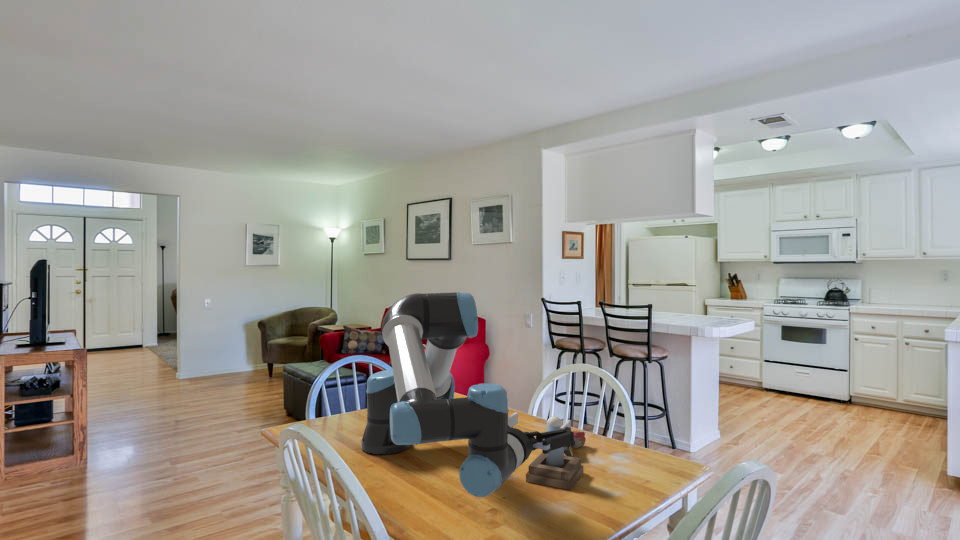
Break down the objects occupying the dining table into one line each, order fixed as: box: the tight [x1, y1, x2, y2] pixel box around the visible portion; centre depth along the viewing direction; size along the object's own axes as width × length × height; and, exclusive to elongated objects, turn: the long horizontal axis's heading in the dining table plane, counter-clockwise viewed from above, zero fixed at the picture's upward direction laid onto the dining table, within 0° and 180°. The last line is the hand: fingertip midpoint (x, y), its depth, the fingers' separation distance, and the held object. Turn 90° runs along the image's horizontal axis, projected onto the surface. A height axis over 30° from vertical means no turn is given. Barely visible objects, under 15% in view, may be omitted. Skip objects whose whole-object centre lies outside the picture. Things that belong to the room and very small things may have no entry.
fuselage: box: [545, 415, 565, 468], centre depth 135 cm, size 4×4×14 cm
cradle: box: [525, 452, 584, 491], centre depth 135 cm, size 12×12×4 cm
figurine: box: [564, 430, 587, 457], centre depth 153 cm, size 7×17×7 cm, turn 151°
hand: (542, 421), depth 125 cm, fingers open, 13 cm apart
